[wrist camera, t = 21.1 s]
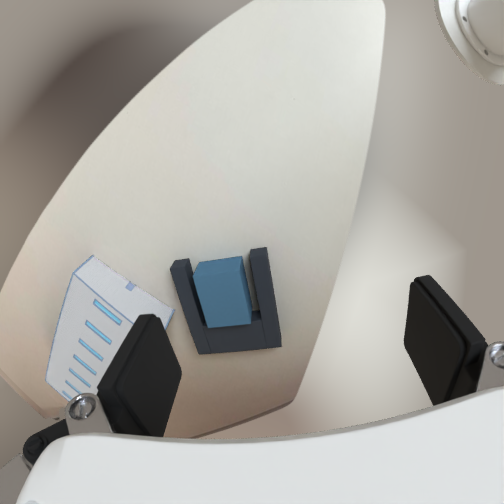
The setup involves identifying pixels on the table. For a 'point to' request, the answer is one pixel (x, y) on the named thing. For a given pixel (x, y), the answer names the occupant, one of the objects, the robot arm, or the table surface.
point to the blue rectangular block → (223, 292)
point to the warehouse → (95, 326)
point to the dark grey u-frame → (239, 336)
